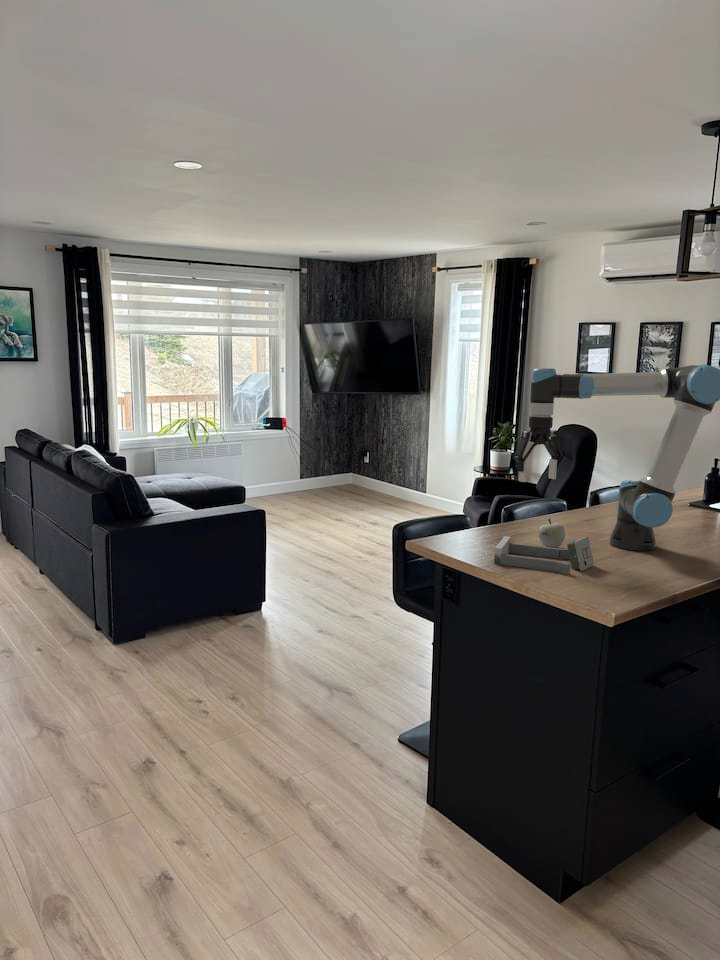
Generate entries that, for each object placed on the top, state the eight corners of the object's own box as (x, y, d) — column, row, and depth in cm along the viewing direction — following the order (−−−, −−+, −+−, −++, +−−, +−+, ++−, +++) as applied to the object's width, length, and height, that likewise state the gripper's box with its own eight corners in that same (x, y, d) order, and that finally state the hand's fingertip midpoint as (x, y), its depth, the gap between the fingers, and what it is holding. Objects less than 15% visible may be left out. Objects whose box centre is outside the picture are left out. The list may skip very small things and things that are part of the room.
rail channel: (575, 557, 229) (576, 542, 228) (569, 575, 210) (570, 558, 209) (504, 549, 237) (505, 534, 237) (492, 565, 218) (493, 549, 217)
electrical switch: (582, 572, 214) (582, 541, 213) (566, 570, 217) (565, 540, 216) (594, 565, 221) (593, 536, 220) (578, 564, 224) (577, 535, 223)
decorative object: (562, 552, 236) (565, 523, 234) (536, 549, 238) (538, 520, 237) (564, 546, 244) (567, 518, 242) (538, 543, 247) (540, 515, 245)
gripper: (559, 414, 240) (555, 475, 244) (504, 415, 228) (501, 480, 231) (576, 415, 234) (572, 479, 237) (520, 417, 221) (517, 484, 225)
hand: (537, 480), depth 234 cm, fingers open, 13 cm apart
